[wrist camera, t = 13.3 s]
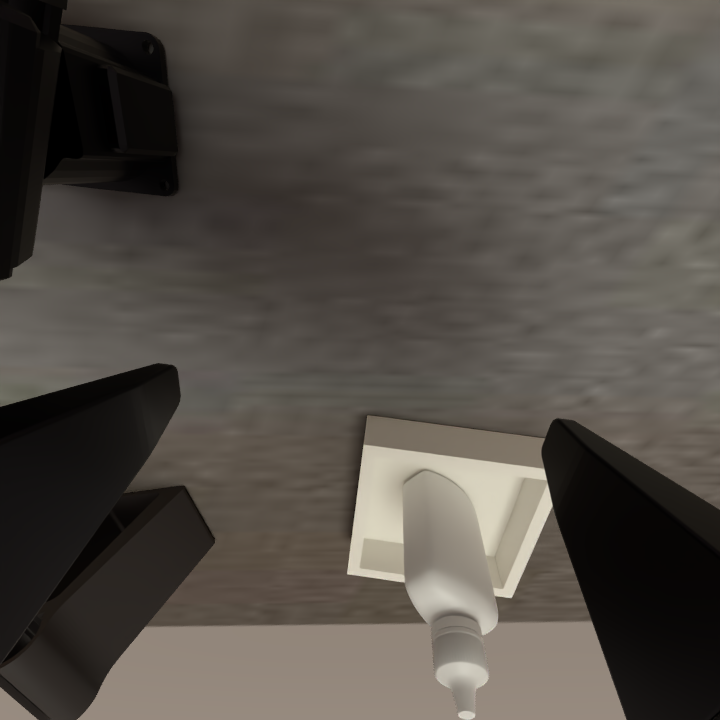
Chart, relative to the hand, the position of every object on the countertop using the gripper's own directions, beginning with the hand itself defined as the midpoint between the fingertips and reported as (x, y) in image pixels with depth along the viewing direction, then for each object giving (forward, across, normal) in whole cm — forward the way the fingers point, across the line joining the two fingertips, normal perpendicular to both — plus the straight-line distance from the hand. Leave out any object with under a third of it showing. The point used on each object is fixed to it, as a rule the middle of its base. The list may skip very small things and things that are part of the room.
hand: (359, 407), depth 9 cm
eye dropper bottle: (+13, -6, +15) cm, 20 cm away
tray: (+13, -6, +15) cm, 21 cm away
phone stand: (+13, +16, +22) cm, 30 cm away
